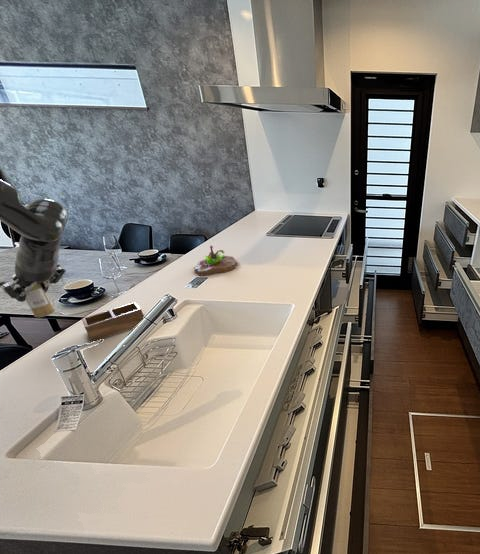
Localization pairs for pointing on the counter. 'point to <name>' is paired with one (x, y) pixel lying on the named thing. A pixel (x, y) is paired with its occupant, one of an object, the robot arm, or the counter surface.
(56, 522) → the counter surface
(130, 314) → the spice rack
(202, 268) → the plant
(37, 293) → the sprinkles bottle
